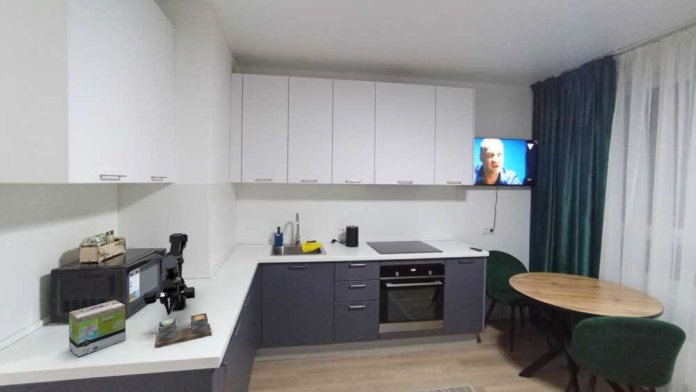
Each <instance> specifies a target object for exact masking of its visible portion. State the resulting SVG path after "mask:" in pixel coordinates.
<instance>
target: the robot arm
mask: <svg viewBox="0 0 696 392" xmlns="http://www.w3.org/2000/svg"><path fill="white" fill-rule="evenodd" d="M168 237H169V239H168V240H169V241H168V242H169V244H170V248H169V251H167V253H165V257H164V258H163V259H162V263H161V265H162V271H163V274H164V278H163V280H162V281H161V292H160V293H157V292H156V291H146V292H145V293H143V297H142V300H143V301H144V304H145V305H151V304H152V305H153V304H155V303H157V300H159V302H160V305H164V308H165V310H166V314H167V316H170V315H171V314H172V311H183V310H184V308H185V307H186V306H187V300H191V299H195V298H196V290H195V287H194V286H190V287H189V286H187V284H186V281H185V279H184V277H183V265H184V263H185V258H184V257H183V256H184V250H185V248H187V243H189V235H188V234H186V233H181V232H179V233H178V232H177V233H176V232H175V233H174V232H173V233H171V234H170V235H169V236H168Z"/></svg>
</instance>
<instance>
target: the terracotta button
mask: <svg viewBox="0 0 696 392" xmlns="http://www.w3.org/2000/svg"><path fill="white" fill-rule="evenodd" d="M197 315H198V314H197ZM204 318H205V316H204V315H198V316H195V317H194V320H199V319H204Z"/></svg>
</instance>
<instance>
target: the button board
mask: <svg viewBox="0 0 696 392" xmlns="http://www.w3.org/2000/svg"><path fill="white" fill-rule="evenodd" d="M198 315H204V316H205V318H204V319H199V320H194V317H195V316H198ZM173 319H174V325H170V326H165V327H162V323H161V322H162V321H159V322H158V334H155V338H154V349H158V348H161V347H162V346H163V347H165V346H166V347H167V346H171V345H175V344H179V343H183V342H188V341H192V340H197V339H201V338H206V337H209V336H212V334H213V333H212V328H211V325H210V323H208V322H209V321H208V320H209V318H208V313H207V312H204V313H199V314H194V315H190V327H186V328H181V329H177V318H173Z"/></svg>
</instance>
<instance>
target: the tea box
mask: <svg viewBox="0 0 696 392" xmlns="http://www.w3.org/2000/svg"><path fill="white" fill-rule="evenodd" d="M126 327H127V326H126V305H125V304H124V303H121V302H119V301H118V300H116V299H114V300H110V301H106V302H104V303H103V302H102V303H99V304H96V305H93V306H91V305H90V306H87V307H83V308H80V309H77V310H72V311H69V313H68V349H69V350H70V349H71V350H72V351H73V352H74V353H76V354H77V355H78V356H80V357H82V356H81V355H83V356H85V355H87V353H88V354H91V353H93V352H95V350H96V351H99V350H102V349H103V348H107V347H109V346H112V345H115V343H116V344H118V343H121V342H124V341H126V335H127V334H126V333H127V332H126V330H127V329H126ZM123 340H124V341H123ZM71 350H70V351H71ZM72 351H71V352H72ZM92 351H93V352H92ZM73 352H72V353H73ZM74 353H73V354H74ZM84 354H85V355H84ZM77 355H76V356H77ZM78 356H77V357H78Z"/></svg>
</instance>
